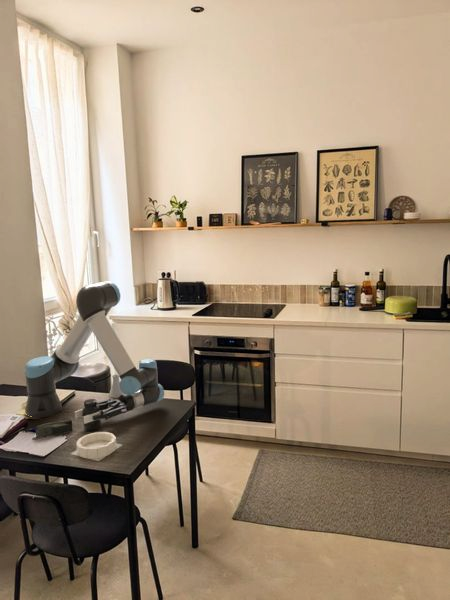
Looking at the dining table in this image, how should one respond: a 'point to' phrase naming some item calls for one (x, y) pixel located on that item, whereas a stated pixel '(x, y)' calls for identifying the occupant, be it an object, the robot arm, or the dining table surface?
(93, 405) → the supplement bottle
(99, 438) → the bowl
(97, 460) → the mat
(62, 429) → the mobile phone
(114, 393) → the flask
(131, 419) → the dining table surface
